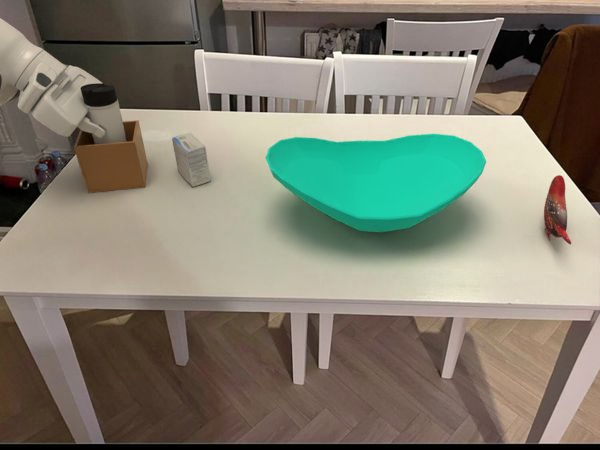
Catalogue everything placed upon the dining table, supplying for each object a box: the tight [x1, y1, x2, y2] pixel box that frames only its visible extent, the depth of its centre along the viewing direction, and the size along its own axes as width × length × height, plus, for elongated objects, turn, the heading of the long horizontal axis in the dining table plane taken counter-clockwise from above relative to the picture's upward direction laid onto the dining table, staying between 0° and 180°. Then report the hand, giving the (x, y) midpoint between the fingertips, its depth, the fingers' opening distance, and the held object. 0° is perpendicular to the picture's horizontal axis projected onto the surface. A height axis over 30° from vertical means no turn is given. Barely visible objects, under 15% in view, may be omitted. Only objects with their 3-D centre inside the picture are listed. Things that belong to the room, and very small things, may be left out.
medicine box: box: [171, 132, 211, 188], centre depth 99 cm, size 8×4×9 cm, turn 34°
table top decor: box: [265, 133, 487, 233], centre depth 87 cm, size 40×28×13 cm
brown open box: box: [73, 119, 149, 194], centre depth 98 cm, size 12×10×11 cm
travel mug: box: [80, 83, 127, 144], centre depth 95 cm, size 6×7×20 cm
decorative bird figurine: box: [543, 174, 572, 245], centre depth 82 cm, size 3×18×10 cm, turn 166°
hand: (109, 126), depth 95 cm, fingers closed on travel mug, 6 cm apart
